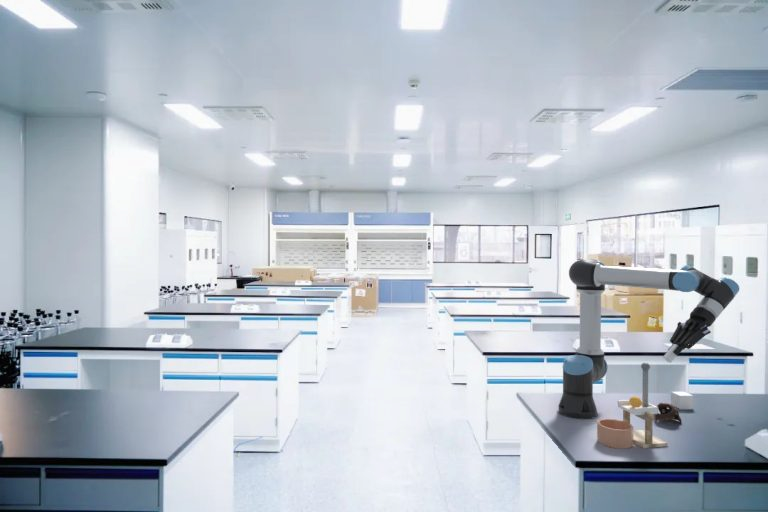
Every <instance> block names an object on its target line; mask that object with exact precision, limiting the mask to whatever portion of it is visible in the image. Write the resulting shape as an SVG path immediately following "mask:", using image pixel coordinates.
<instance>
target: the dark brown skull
mask: <svg viewBox="0 0 768 512" xmlns="http://www.w3.org/2000/svg"><path fill="white" fill-rule="evenodd" d="M656 406H657V407H658V414H655V421H654V422H656V423H657V422H658V421H659V422H660V421H661V422H666V421H671V420H673V421H678V422H679V423H680V425H681V424H682V418H681V416H680V412H679V409H678V408H676V407H674V406H672V405H671V403H666V402H665V403H663V402H660V403H658V404H657V405H656Z"/></svg>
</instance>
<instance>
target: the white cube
mask: <svg viewBox="0 0 768 512" xmlns="http://www.w3.org/2000/svg"><path fill="white" fill-rule="evenodd" d="M670 405H673V407H674V406H675V407H674V408H676V407H677V408H676V409H678V408H679V409H678V410H694V395H692V394H691V393H688V392H686V391H670Z"/></svg>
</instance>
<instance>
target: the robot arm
mask: <svg viewBox="0 0 768 512" xmlns="http://www.w3.org/2000/svg"><path fill="white" fill-rule="evenodd" d="M568 276H569V280H570V281H571V282H572V283H573V284H574V285H576V287H575V288H576V291H577V292H578V293H579V347H578V348H577V349H575V354H573V355H568V356H566V357H565V358H563V362H562V363H563V364H562V395H561V398H560V400H559V404H558V412H559V414H560V415H563V416H565V417H568V418H572V419H580V420H588V419H594V418H597V416H598V408H597V405H596V403H595V399H594V397H593V394H594V392H593V389H594V387H593V385H594V383H596V382H599V381H601V380H602V379H603V378H605V376H606V374H607V373H608V363H607V360H606V359H605V352H604V351H603V349H602V348H601V339H602V338H601V331H602V330H601V329H602V321H601V320H602V294H603V293H604V292H606V291H605V290H606V286H617V287H619V286H620V287H629V288H630V287H631V288H640V289H641V288H642V289H655V290H657V289H658V290H666V291H667V290H669V291H675V292H676V291H679V292H682V293H690V292H695V293H697V294H699V295H700V296H703V297H702V299H701V300H700V301H699V302H698V304H697V305H696V306H695V307H694V308H693V310H692V311H691V312H690V314H689V318H688V319H686V321H685V322H680V321H679V322H677V325H676V326H677V327H676V328H675V330H674V332H673V334H672V335H671V338H670V339H669V342H670V343H671V345H670V347H669V348H668V349H667V351H666V353H664V355H663V356H662V357H663V359H664V360H665V361H666V362H667V363H670V364H671V363H672V362H673V361H674V360H675V358H676V357H677V356H679V355H680V354H681V353H682V351H683V350H685V349H687V350H690V349H691V348H693V346H695V345H696V344H698V342H699V341H701V340H702V339H703V338H704V337H706V336H707V335H709V334H711V332H712V331H711V330H710V329H709V327H712V325H713V324H714V322H715V321H716V319H718V317H720V315H721V314H722V313H723V311H725V309H726V308H727V307H728V305H729V304H731V302H732V301H733V300H734V298H735V297H736V296H737V294H738V293H739V291H740V286H739V284H738V282H737V281H735V280H734V279H731V278H728V277H726V276H725V277H724V276H723V277H719V278H718V279H717V278H714V277H711V276H709V275H707V273H706V274H705V273H704V272H702V271H700V270H699V269H696V268H695V267H692V266H689V265H683V266H682V267H681V268H680V269H679V270H677V269H676V270H675V269H661V268H659V269H658V268H643V267H642V268H641V267H625V266H624V267H623V266H613V265H612V266H608V265H606V264H604V263H603V262H602V261H600V260H598V259H592V258H591V259H579V260H576V261H575V262H573V263H572V264H571V265H570V267H569V269H568Z"/></svg>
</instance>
